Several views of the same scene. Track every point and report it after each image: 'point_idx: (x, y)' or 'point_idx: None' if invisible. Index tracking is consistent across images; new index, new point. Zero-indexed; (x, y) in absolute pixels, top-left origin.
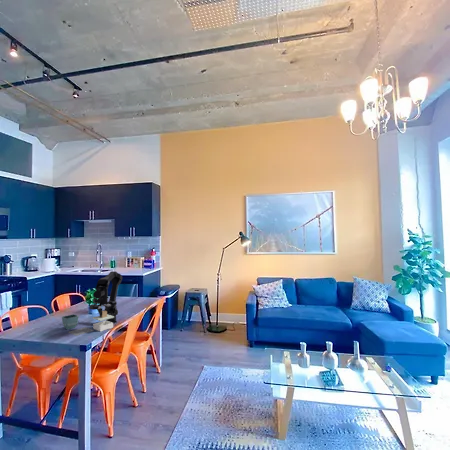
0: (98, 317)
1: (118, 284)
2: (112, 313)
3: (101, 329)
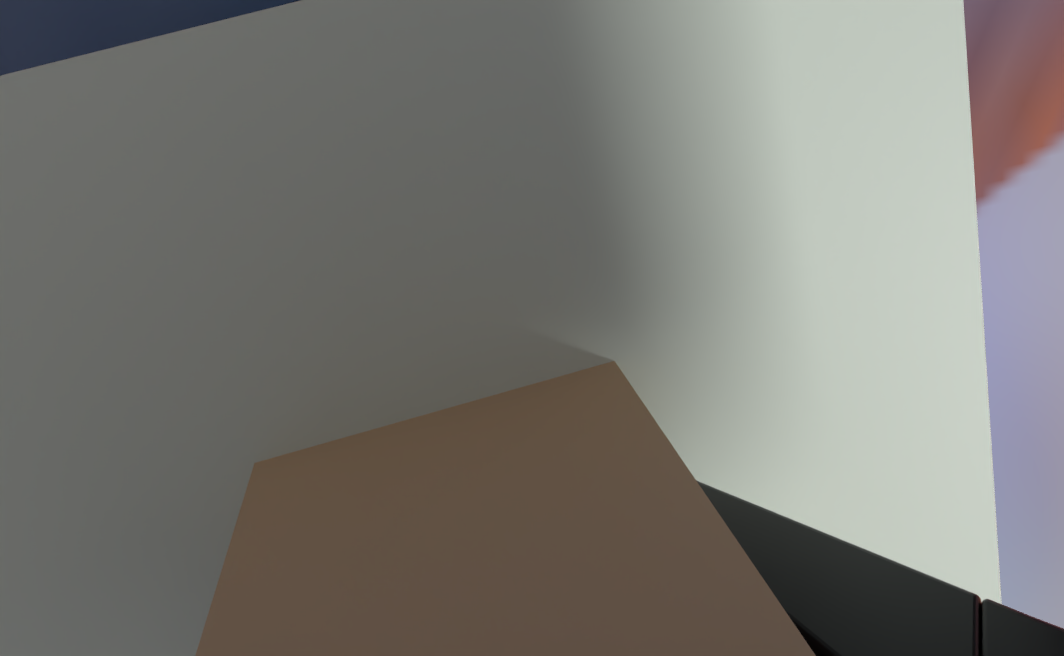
0: (130, 512)
1: None
2: None
3: None
